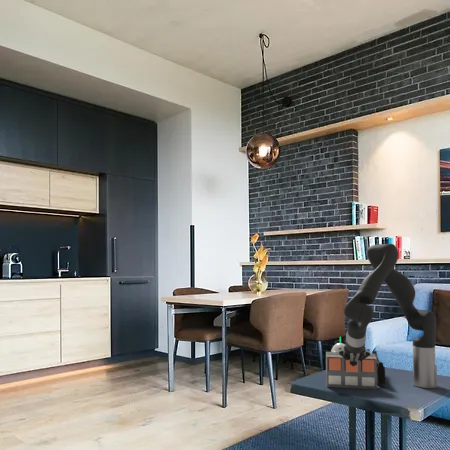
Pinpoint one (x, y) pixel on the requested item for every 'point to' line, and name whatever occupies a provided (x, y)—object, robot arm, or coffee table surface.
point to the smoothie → (337, 346)
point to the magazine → (380, 371)
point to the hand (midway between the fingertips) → (353, 364)
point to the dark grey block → (350, 375)
